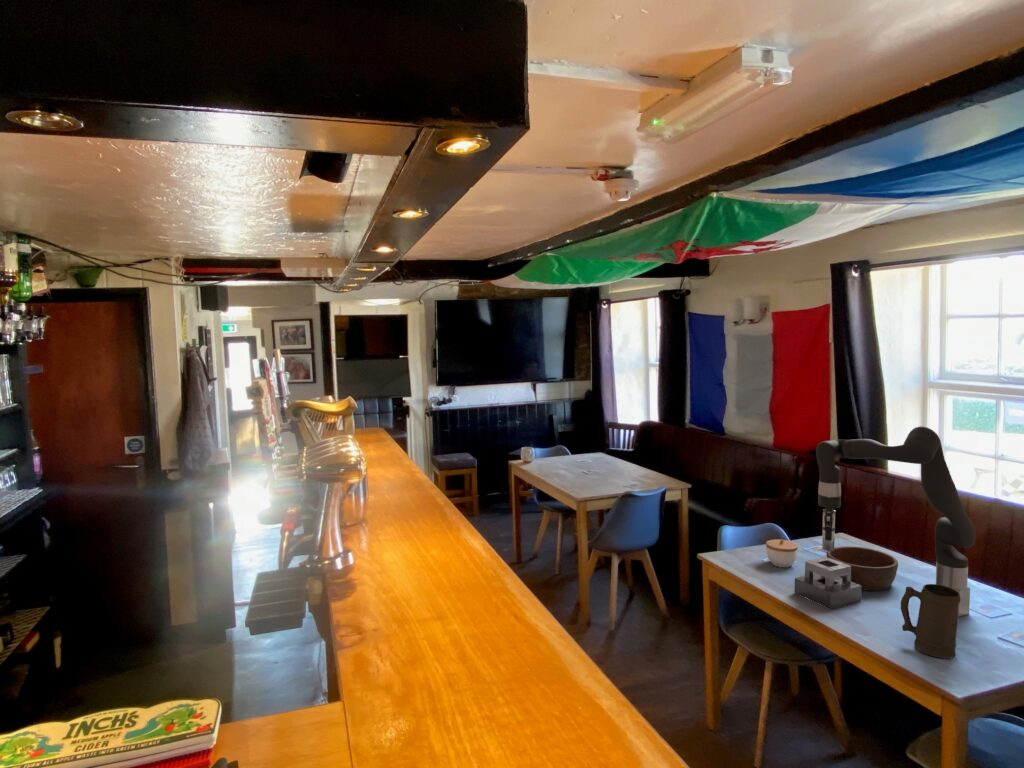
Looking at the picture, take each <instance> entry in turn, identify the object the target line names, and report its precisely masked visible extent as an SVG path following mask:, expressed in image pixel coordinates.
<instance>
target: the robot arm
mask: <svg viewBox="0 0 1024 768" xmlns="http://www.w3.org/2000/svg"><path fill="white" fill-rule="evenodd" d="M942 445H943V444H942V442H941V438H940V436H939V435H938V434H937V433H936V431H934V430H933V429H931V428H929V427H926V426H924V425H923V426H915V427H913V429H911V430H910V432H909V433H908V434H907V436H906V438H905V440H904V442H903V444H901V445H895V446H893V445H892V446H891V445H886V444H883V443H881V442H880V441H877V440H874V439H870V438H856V439H855V438H854V439H832V440H831V439H830V440H824V441H821V442H819V443H818V444H817V446H816V449H815V457H816V461H817V466H818V470H819V479H818V480H819V482H818V492H817V493H818V496H817V499H818V502H817V503H818V504H817V505H818V506H820V507H822V508H825V509H822V510H823V512H822V517H823V516H824V524H825V528H824V529H825V540H829V541H831V540H832V530H833V529H832V525H833V524H834V517H835V518H836V510H835V509H838V508H840V507H841V506H842V498H841V497H842V487H841V486H842V485H841V475H842V473H841V468H840V467H839V466H837V465H836V464H835V460H838V459H850V460H851V459H852V460H856V459H857V460H863V459H864V460H865V459H866V460H867V459H869V460H873V459H875V460H885V461H892V462H898V463H907V464H913V465H914V464H916V465H920V481H921V483H920V484H921V488H922V490H923V493H924V496H925V498H926V500H927V502H928V503H929V504H930V505H931V506H932V507H933V508H934V509H935V510H936V511H938V513H940V514H941V515H942V516H944V517H940V518H938V520H937V522H936V523H935V527H934V541H935V543H934V544H935V545H934V546H935V548H934V550H935V557H936V561H935V562H936V563H935V565H936V566H935V584H937V585H942V586H946V587H949V588H952V589H954V590H956V591H957V592H958V593H959V594H960V599H961V600H960V603H959V605H958V616H957V618H960V617H963V616H965V615H969V614H970V601H971V588H970V587H968V582H969V581H968V579H969V578H968V577H969V559H968V557H967V556H965V555H964V554H963V553H961V552H960V551H958V550H957V549H956V548H955V547H957V548H962V549H968V548H969V549H970V548H972V547H973V546H974V545H975V543H976V536H977V535H976V529H975V527H974V525H973V523H972V521H971V519H970V517H969V515H968V513H967V512H966V510H965V508H964V506H963V504H962V502H961V501H962V500H961V498H960V496H959V493H958V489H957V487H956V484H955V482H954V481H953V478H952V475H951V472H950V469H949V467H948V465H947V462H946V459H945V455H944V452H943V451H944V450H943V446H942ZM832 516H833V517H832ZM826 525H830V526H831V527H826Z"/></svg>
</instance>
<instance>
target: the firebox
mask: <svg viewBox="0 0 1024 768" xmlns="http://www.w3.org/2000/svg"><path fill="white" fill-rule="evenodd" d="M841 576H842V578H841ZM861 587H862V586H861V585H859V584H856V583H854V582H851V566H849V565H847V564H844V563H841V562H839V561H836V560H833V559H830V558H828V557H827V556H823V557H819V558H813V559H810V560H805V562H804V575H802V576H798V577H794V592H795V593H797V594H799V595H798V596H800V595H801V596H800V597H802V596H803V597H802V598H804V597H806V598H808V599H810V600H809V601H811V600H812V601H811V602H813V601H814V602H813V603H815V602H816V603H815V604H817V603H819V604H821V605H823V606H822V607H824V606H825V607H824V608H826V607H827V608H826V609H828V608H829V609H828V610H830V609H831V610H834V608H835V609H837V607H838V608H842V607H845V606H844V605H846V606H849V605H852V603H853V604H856V603H860V602H862V590H861ZM795 593H794V594H795ZM797 594H796V595H797ZM806 598H805V599H806ZM808 599H807V600H808ZM819 604H818V605H819ZM848 604H849V605H848ZM821 605H820V606H821ZM841 606H842V607H841Z"/></svg>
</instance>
